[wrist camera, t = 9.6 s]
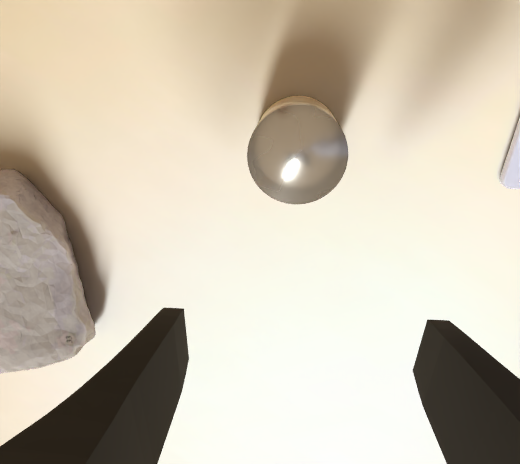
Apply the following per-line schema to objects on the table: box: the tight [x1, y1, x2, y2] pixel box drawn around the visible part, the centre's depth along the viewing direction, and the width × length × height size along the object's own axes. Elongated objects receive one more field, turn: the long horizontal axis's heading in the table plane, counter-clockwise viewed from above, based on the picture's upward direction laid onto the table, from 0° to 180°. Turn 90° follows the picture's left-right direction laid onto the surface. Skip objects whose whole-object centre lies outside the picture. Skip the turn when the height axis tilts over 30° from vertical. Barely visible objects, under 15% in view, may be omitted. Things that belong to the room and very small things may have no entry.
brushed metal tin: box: [247, 96, 348, 204], centre depth 16 cm, size 4×4×4 cm
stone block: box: [0, 169, 95, 374], centre depth 21 cm, size 12×5×10 cm
